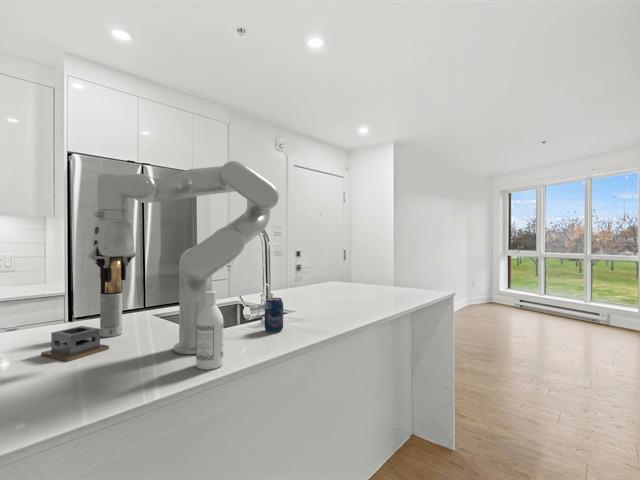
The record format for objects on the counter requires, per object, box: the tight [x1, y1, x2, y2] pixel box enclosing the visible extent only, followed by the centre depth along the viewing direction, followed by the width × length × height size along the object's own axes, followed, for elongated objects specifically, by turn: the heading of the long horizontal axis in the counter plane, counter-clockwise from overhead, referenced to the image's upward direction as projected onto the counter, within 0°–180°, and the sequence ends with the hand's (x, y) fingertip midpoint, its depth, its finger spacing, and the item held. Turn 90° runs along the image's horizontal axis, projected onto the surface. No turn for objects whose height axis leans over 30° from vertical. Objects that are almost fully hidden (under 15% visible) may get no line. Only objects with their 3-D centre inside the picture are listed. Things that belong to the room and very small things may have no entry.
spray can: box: [99, 280, 123, 338], centre depth 121 cm, size 7×7×20 cm
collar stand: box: [40, 325, 110, 362], centre depth 102 cm, size 12×12×6 cm
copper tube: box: [105, 256, 121, 293], centre depth 98 cm, size 4×4×11 cm
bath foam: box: [195, 290, 224, 371], centre depth 92 cm, size 7×7×20 cm
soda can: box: [264, 297, 284, 334], centre depth 128 cm, size 7×7×12 cm
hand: (113, 280), depth 98 cm, fingers closed on copper tube, 4 cm apart
